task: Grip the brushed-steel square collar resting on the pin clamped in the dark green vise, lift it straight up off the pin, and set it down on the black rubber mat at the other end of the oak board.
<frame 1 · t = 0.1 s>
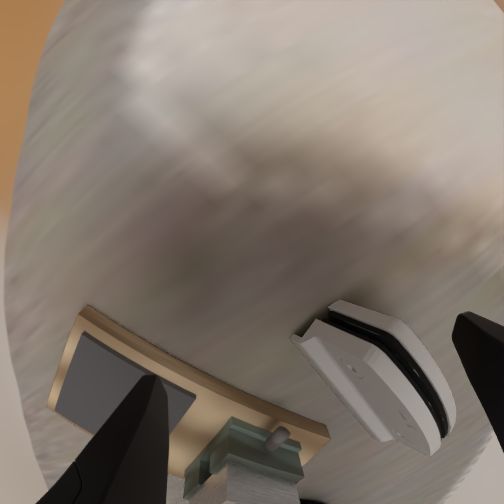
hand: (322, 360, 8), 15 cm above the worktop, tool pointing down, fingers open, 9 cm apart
collar: (241, 490, 21), point 6 cm above the worktop, touching vise
mat: (118, 404, 23), resting on vise
vise: (183, 421, 26), on the worktop
hinge: (371, 369, 27), on the worktop
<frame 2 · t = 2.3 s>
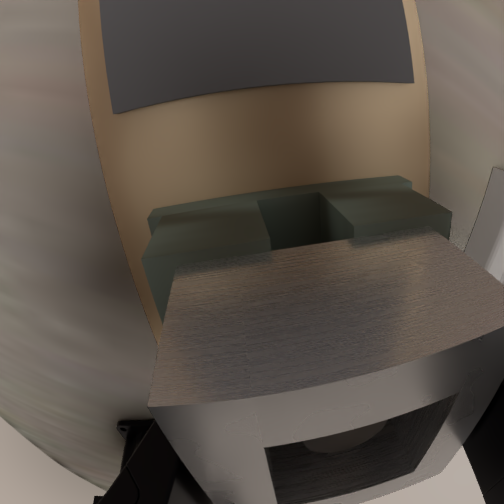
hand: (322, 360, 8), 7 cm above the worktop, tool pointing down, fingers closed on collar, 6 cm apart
collar: (316, 345, 9), point 6 cm above the worktop, touching gripper, vise
vise: (266, 113, 12), on the worktop
hinge: (478, 296, 17), on the worktop
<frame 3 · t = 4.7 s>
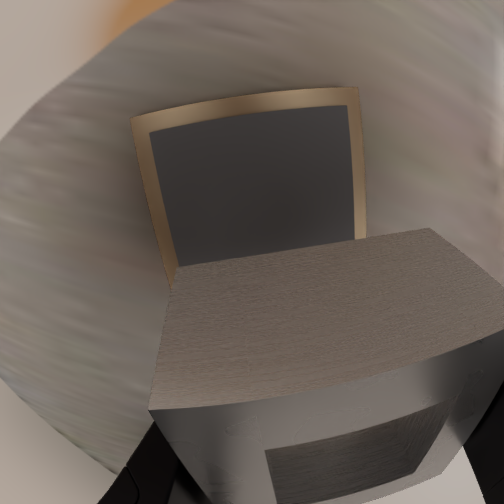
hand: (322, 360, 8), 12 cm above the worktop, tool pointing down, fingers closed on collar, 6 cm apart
collar: (317, 347, 9), point 12 cm above the worktop, touching gripper
mat: (262, 206, 17), resting on vise
vise: (269, 284, 22), on the worktop
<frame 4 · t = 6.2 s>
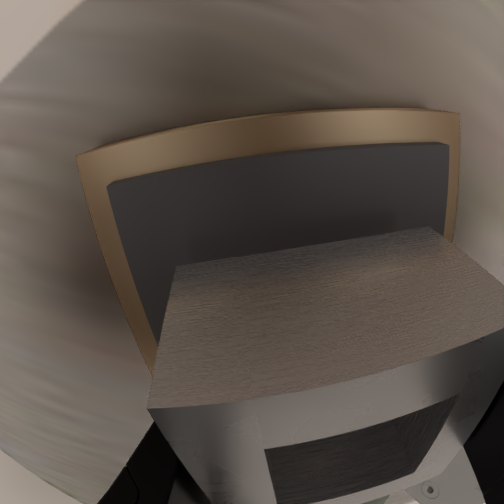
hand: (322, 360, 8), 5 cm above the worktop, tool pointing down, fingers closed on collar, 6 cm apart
collar: (317, 346, 9), point 4 cm above the worktop, touching gripper
mat: (301, 302, 11), resting on vise
vise: (297, 376, 15), on the worktop
hinge: (450, 416, 21), on the worktop
when the fingers open (5 cm above the worktop, at t = 7.1 s): collar drops 1 cm, resting on mat.
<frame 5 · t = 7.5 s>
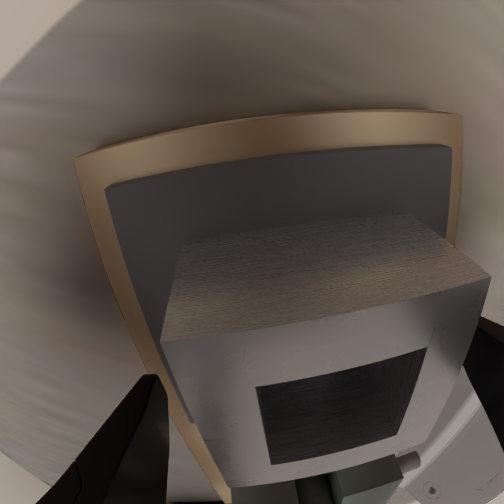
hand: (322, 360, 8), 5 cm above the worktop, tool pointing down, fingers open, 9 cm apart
collar: (305, 318, 10), point 3 cm above the worktop, touching mat
mat: (302, 306, 11), resting on vise
vise: (297, 379, 15), on the worktop
hinge: (451, 417, 21), on the worktop
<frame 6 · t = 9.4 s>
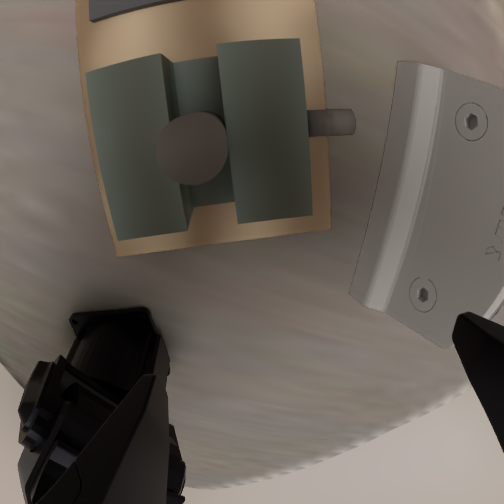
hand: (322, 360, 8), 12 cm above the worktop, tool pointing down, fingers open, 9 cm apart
vise: (195, 25, 14), on the worktop
hinge: (422, 191, 19), on the worktop
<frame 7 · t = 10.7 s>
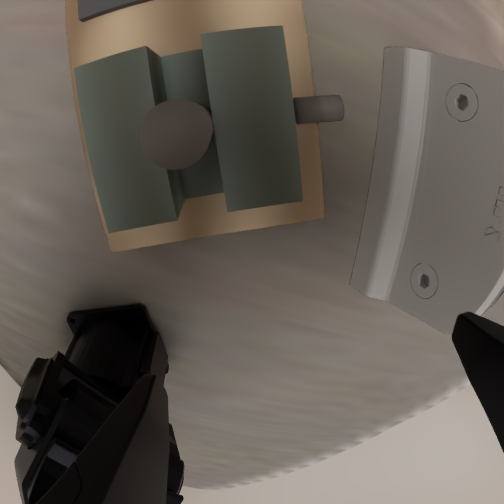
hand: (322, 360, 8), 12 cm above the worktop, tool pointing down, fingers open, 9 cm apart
vise: (183, 21, 14), on the worktop
hinge: (418, 177, 19), on the worktop
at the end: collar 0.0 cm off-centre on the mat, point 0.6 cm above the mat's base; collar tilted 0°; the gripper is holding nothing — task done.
